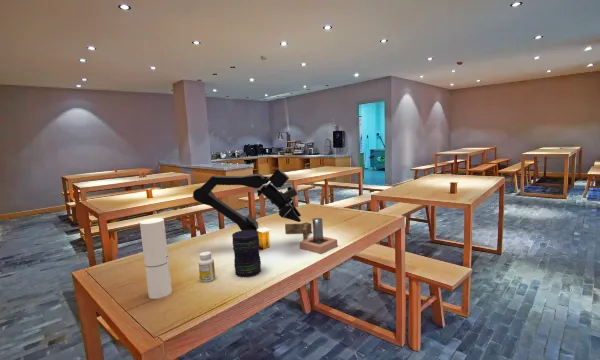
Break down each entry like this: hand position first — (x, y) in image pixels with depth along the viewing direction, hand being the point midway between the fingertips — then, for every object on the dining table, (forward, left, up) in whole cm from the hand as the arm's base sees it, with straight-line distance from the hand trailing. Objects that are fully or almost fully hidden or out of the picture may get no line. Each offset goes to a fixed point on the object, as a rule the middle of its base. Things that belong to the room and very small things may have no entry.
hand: (300, 218), depth 141 cm
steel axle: (+1, -7, -14) cm, 16 cm away
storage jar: (-27, +16, -14) cm, 34 cm away
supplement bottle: (-34, +29, -14) cm, 46 cm away
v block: (+20, +4, -14) cm, 24 cm away
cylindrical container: (-46, +40, -14) cm, 62 cm away
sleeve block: (+1, -7, -14) cm, 15 cm away
